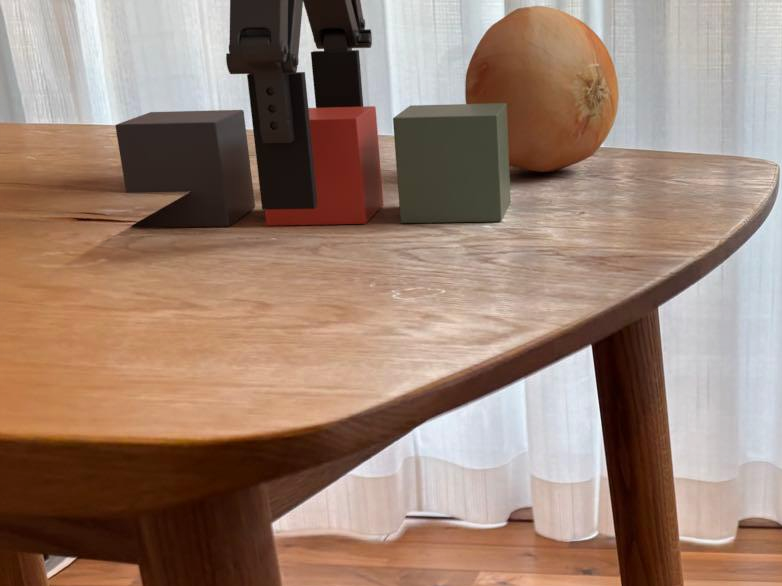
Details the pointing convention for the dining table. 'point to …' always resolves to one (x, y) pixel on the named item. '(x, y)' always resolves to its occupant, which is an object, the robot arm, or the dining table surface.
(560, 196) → the dining table surface
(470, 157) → the green block
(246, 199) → the charcoal block
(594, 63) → the onion
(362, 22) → the robot arm
